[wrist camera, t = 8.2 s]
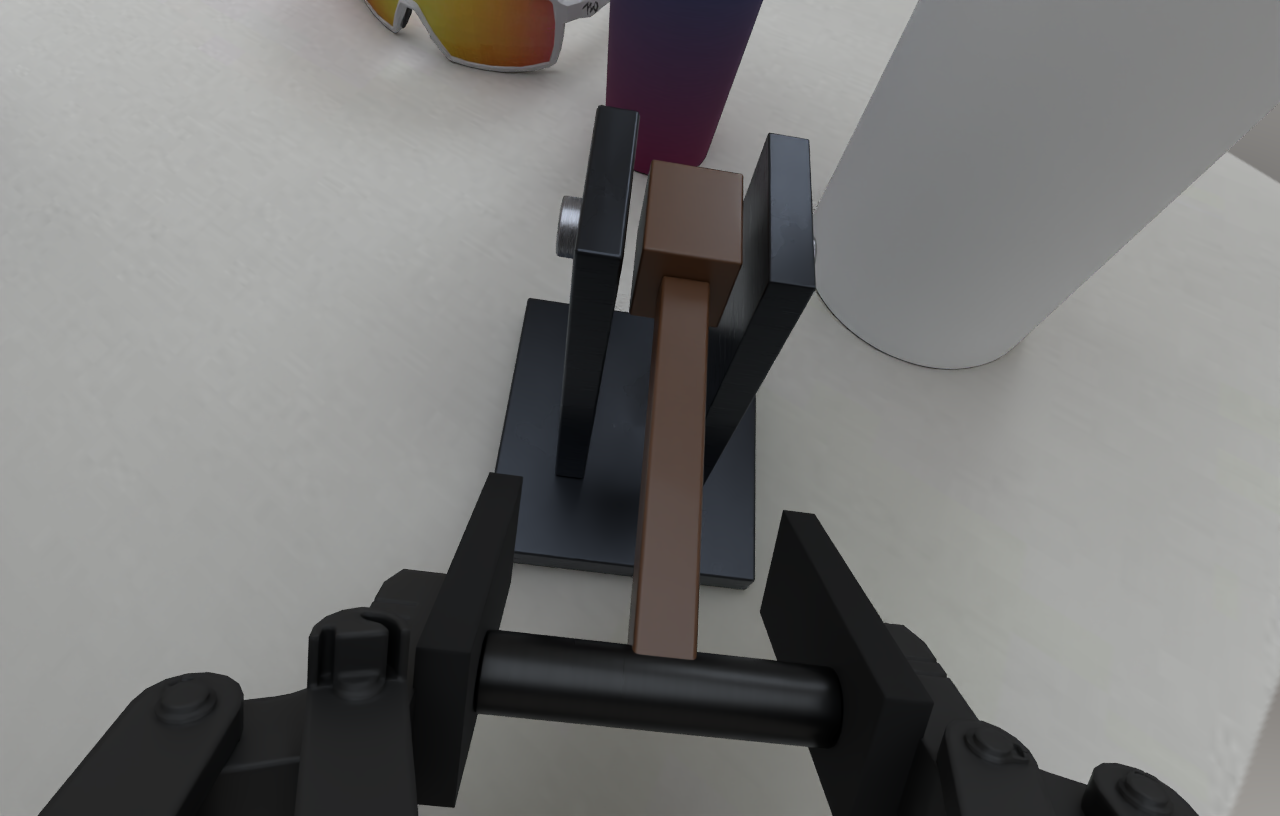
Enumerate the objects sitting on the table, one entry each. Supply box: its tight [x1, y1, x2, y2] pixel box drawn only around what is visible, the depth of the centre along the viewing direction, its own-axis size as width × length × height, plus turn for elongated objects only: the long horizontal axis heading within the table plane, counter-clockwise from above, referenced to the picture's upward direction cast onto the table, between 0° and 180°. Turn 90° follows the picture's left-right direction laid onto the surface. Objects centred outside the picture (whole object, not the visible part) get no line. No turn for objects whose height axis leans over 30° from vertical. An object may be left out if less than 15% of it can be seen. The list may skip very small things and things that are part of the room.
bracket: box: [495, 105, 817, 590], centre depth 21 cm, size 10×9×13 cm
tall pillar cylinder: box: [813, 0, 1280, 369], centre depth 22 cm, size 11×11×25 cm
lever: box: [473, 160, 843, 749], centre depth 15 cm, size 12×6×2 cm, turn 175°
